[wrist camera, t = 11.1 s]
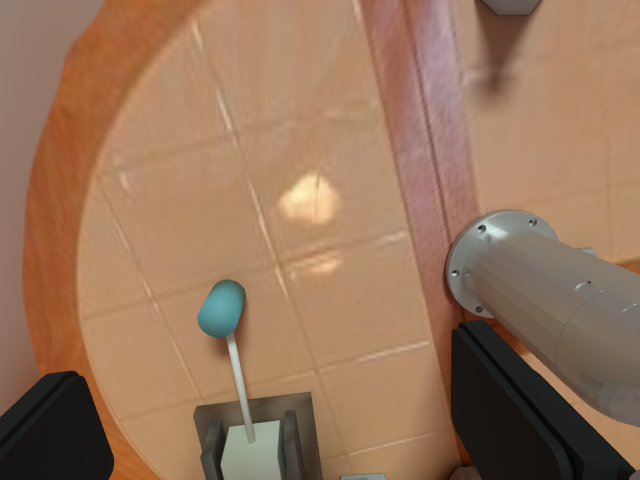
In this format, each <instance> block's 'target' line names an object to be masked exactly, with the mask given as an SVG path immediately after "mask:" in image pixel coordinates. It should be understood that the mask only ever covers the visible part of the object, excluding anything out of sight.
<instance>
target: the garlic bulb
mask: <svg viewBox="0 0 640 480" xmlns="http://www.w3.org/2000/svg"><path fill="white" fill-rule="evenodd" d="M449 480H482V479H481V477H480V475H479V473H478V471H477V469H476V468H475V466H469V467H458V468H457V469H456V470H455V471H454V473H453V475H452V476H451V477H450V479H449Z"/></svg>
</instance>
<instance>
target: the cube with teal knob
mask: <svg viewBox="0 0 640 480" xmlns="http://www.w3.org/2000/svg"><path fill="white" fill-rule="evenodd" d="M245 299H246V293H245V290H244V288H243V287H242V286H241V285H240V284H239V283H238V282H236V281H233V280H222V281H220V282H218V283H216V284H215V285H214V287H213V288H212V290H211V292H210V293H209V295H208V297H207V299H206V301H205V302H204V304H203V306H202V308H201V309H200V311H199V313H198V324H199V326H200V328H201V329H202V331H204V332H205V333H206V334H208V335H210V336H213V337H225V336H226V339H227V343H228V348H229V353H230V358H231V362H232V367H233V372H234V377H235V381H236V386H237V391H238V396H239V400H240V405H241V410H242V414H243V419H244V424H245V425H240V426H232V427H229V431H228V435H227V440H226V444H225V448H224V452H223V456H222V461H221V469H222V473H223V477H224V480H286V458H285V452H284V442H283V436H282V431H281V425H280V420H279V421H271V422H263V423H255V424H252V420H251V415H250V410H249V406H248V401H247V396H246V391H245V386H244V381H243V376H242V371H241V366H240V361H239V356H238V351H237V346H236V341H235V337H234V332H233V331H234V330H235V329H236V327H237V324H238V321H239V318H240V315H241V312H242V309H243V306H244V303H245Z"/></svg>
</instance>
